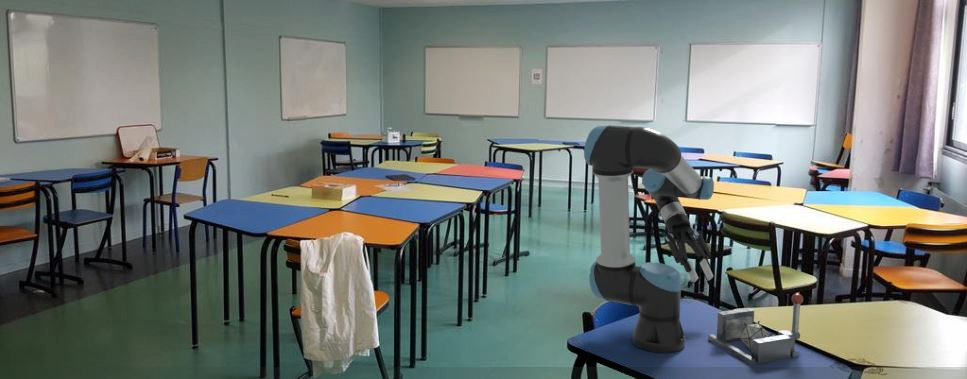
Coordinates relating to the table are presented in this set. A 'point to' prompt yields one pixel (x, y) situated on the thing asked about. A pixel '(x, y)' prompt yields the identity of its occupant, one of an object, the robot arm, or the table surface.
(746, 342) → the game die
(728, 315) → the jaw
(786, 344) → the vise body
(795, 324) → the lever
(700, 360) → the table surface
